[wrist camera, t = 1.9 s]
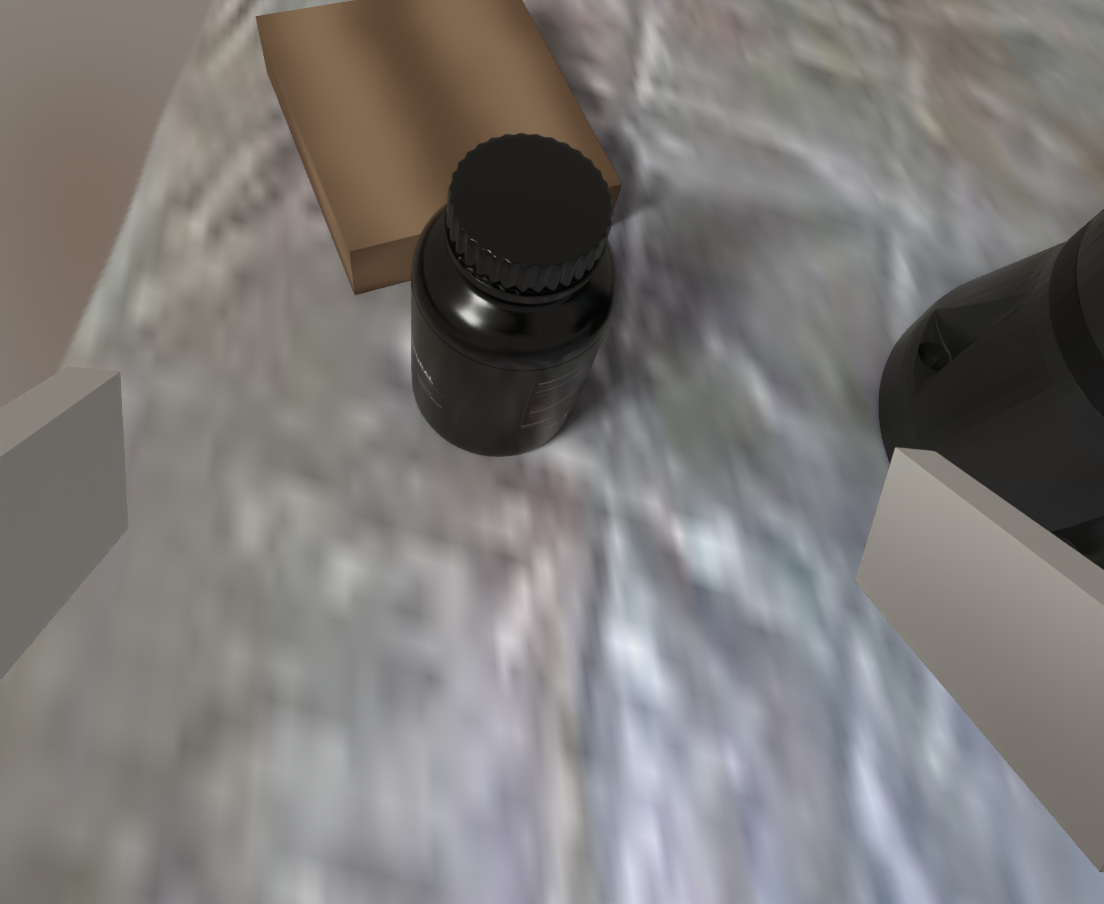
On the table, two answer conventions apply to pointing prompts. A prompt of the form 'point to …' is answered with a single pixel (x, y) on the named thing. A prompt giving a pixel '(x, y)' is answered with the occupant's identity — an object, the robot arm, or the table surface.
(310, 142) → the brown flat block
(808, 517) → the table surface
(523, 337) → the supplement bottle
